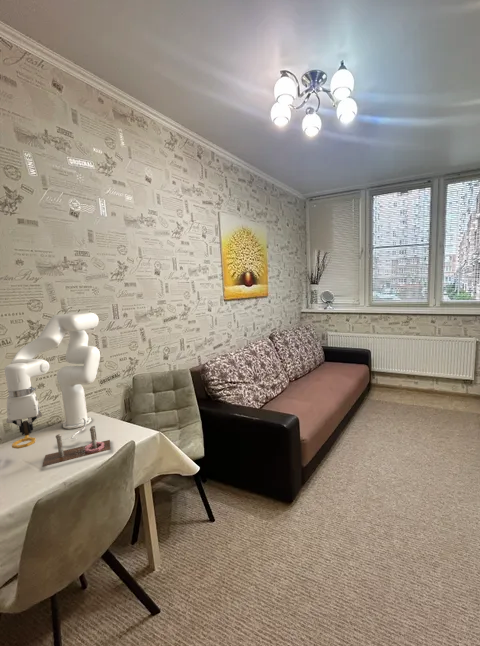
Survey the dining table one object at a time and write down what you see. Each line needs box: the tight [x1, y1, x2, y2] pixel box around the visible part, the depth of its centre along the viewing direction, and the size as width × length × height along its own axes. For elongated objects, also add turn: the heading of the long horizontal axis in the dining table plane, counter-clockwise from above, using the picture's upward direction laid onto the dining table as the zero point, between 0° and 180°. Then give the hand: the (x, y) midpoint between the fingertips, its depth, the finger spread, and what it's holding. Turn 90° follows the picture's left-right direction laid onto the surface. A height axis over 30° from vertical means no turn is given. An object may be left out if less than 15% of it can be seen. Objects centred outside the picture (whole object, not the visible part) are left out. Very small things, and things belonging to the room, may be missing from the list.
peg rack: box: [41, 426, 111, 468], centre depth 133 cm, size 10×24×12 cm, turn 122°
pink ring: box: [85, 425, 104, 453], centre depth 138 cm, size 12×7×7 cm, turn 32°
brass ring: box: [11, 419, 37, 449], centre depth 128 cm, size 12×7×7 cm, turn 32°
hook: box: [62, 417, 87, 441], centre depth 149 cm, size 7×9×20 cm
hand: (27, 432), depth 133 cm, fingers closed on brass ring, 1 cm apart
